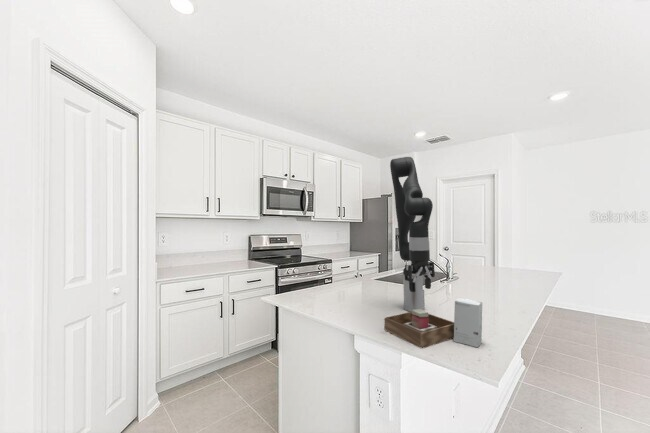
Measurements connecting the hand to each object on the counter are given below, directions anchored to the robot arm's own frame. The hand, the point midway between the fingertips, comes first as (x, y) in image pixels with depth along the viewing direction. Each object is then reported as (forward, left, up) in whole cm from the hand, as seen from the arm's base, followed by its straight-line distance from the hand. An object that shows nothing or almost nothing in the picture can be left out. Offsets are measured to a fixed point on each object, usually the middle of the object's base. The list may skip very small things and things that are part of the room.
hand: (420, 290), depth 110 cm
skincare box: (-8, +14, -17) cm, 24 cm away
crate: (0, 0, -17) cm, 17 cm away
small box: (0, 0, -16) cm, 16 cm away
